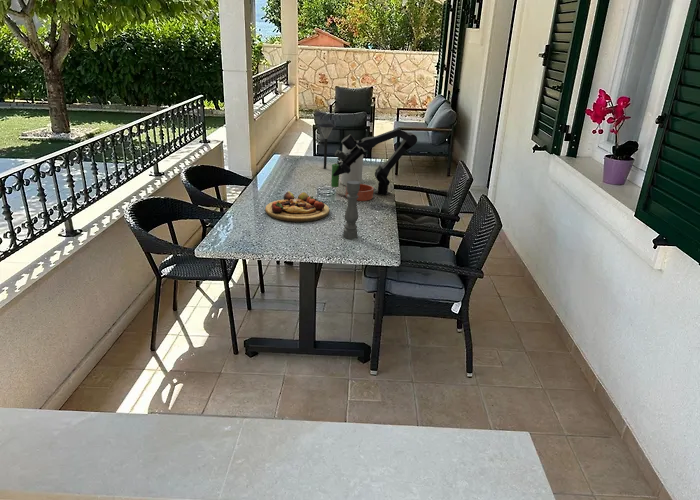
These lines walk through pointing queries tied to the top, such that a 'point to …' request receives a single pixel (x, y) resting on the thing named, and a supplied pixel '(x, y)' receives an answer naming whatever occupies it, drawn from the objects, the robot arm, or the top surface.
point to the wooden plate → (297, 208)
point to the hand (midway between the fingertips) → (332, 174)
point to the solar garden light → (326, 130)
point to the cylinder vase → (353, 169)
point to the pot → (363, 192)
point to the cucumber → (335, 178)
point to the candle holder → (351, 210)
